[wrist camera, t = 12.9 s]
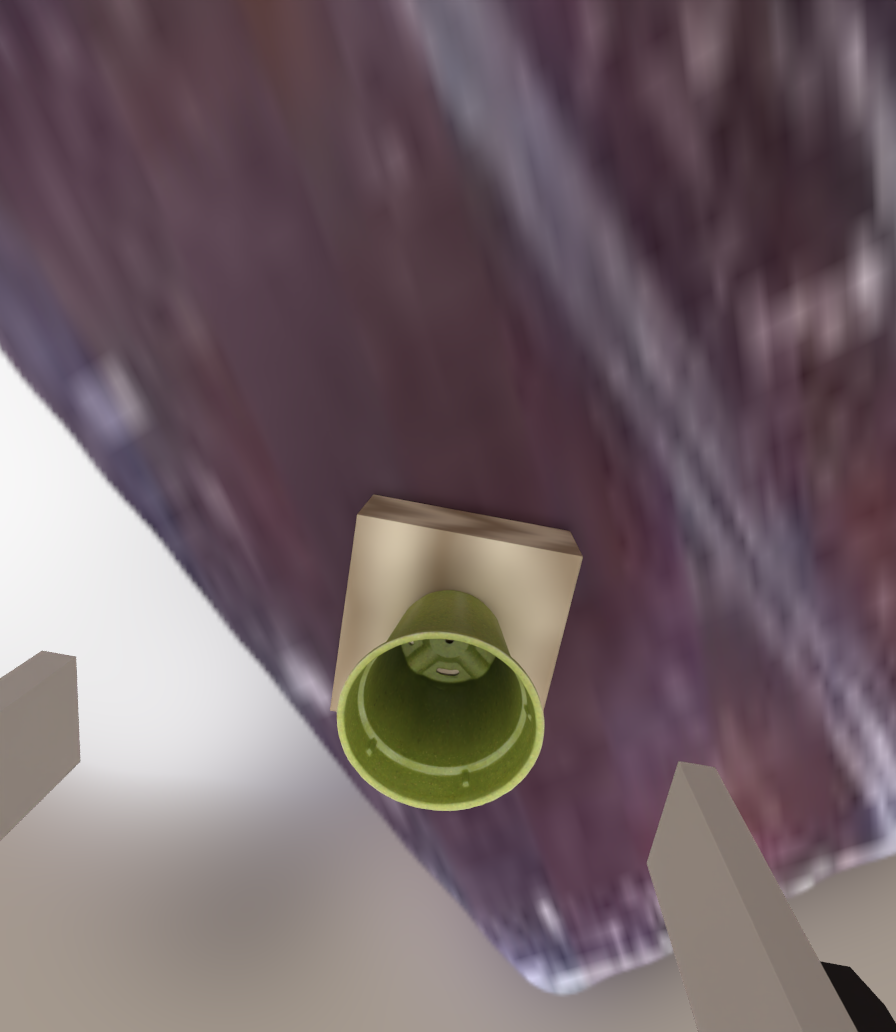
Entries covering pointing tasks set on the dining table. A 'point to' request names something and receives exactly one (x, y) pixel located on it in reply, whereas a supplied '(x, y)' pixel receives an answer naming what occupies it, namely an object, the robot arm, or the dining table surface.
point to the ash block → (457, 579)
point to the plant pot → (441, 709)
